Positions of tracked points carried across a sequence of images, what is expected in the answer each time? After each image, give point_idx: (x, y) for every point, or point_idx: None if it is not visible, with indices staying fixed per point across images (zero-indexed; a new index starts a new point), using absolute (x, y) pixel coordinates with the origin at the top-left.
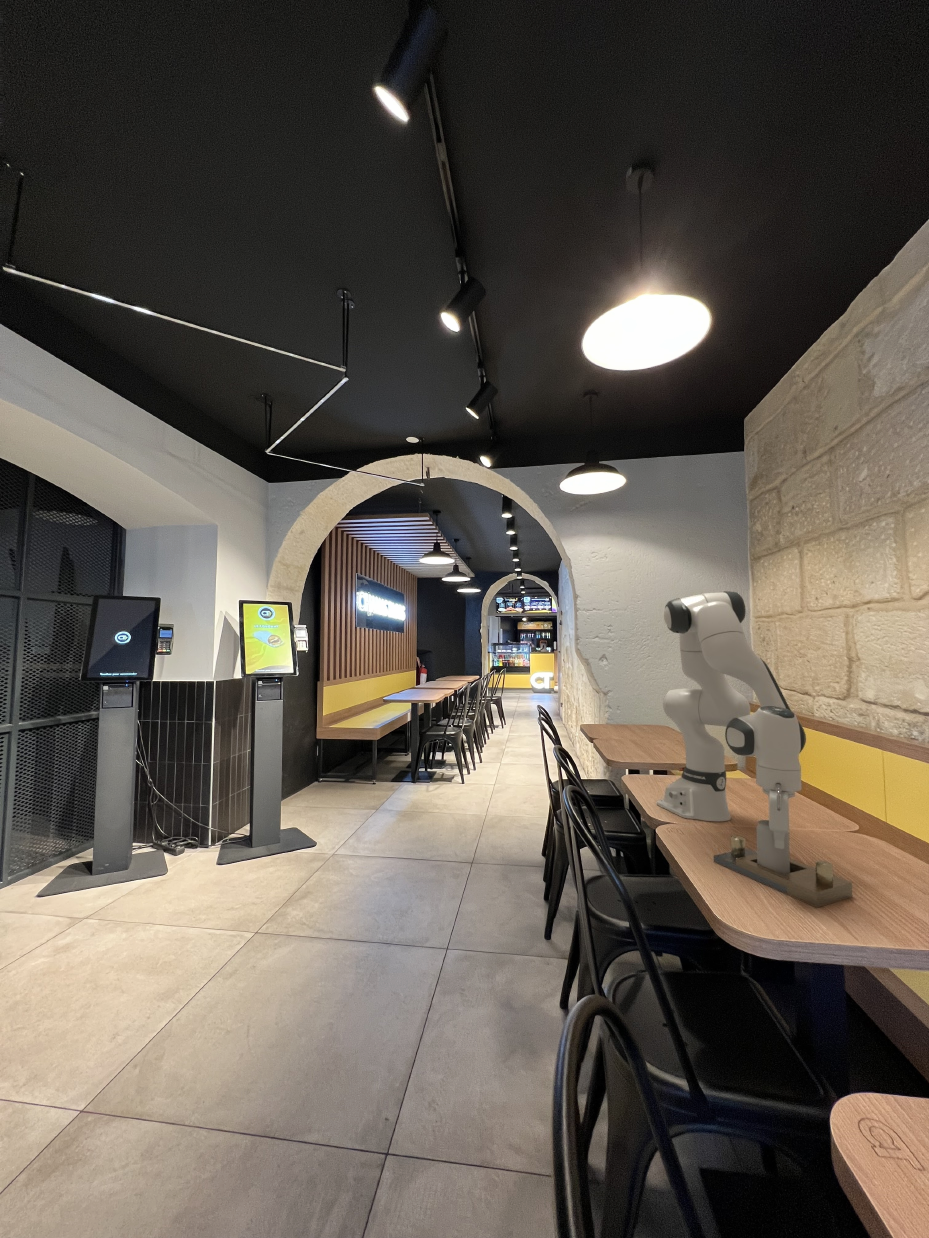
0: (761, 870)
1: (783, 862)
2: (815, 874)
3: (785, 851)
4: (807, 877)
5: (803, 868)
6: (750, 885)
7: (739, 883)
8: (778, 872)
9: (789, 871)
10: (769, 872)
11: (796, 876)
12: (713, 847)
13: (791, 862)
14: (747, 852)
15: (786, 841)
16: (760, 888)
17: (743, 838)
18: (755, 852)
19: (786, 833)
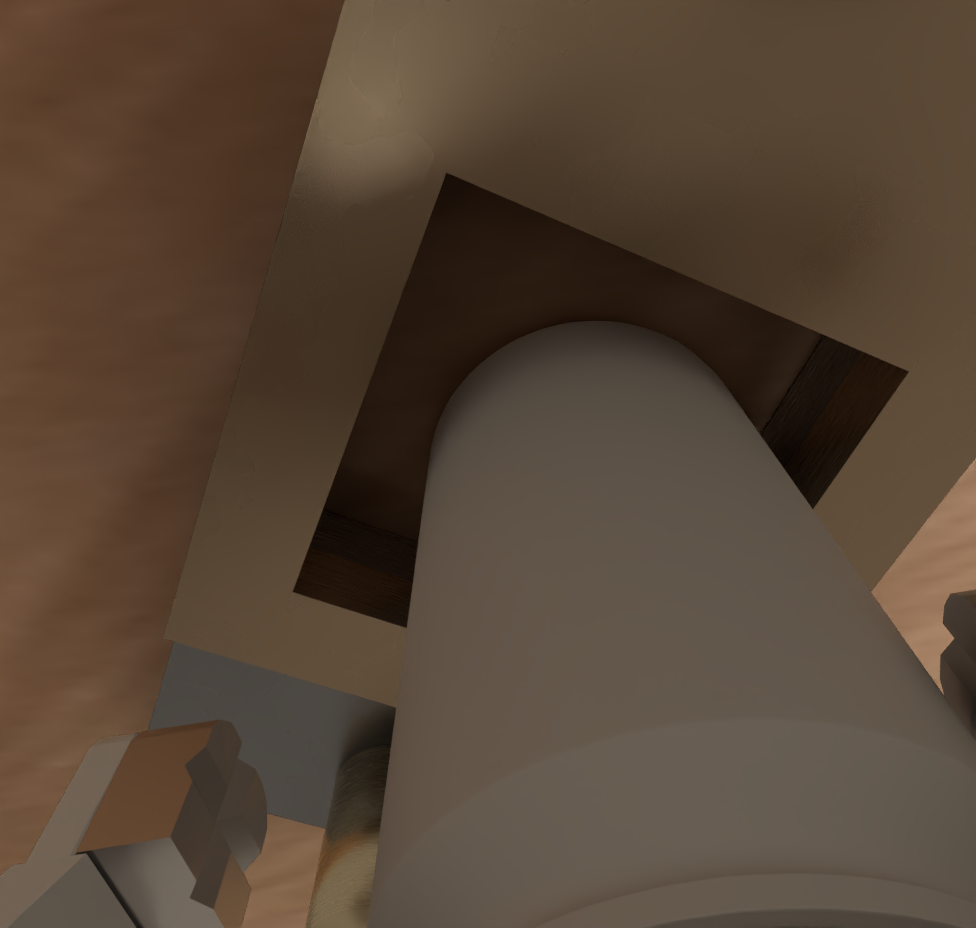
0: (868, 574)
1: (760, 447)
2: (608, 21)
3: (793, 511)
4: (825, 101)
5: (428, 221)
6: (936, 555)
7: (943, 625)
8: (867, 431)
9: (608, 348)
10: (932, 503)
11: (887, 233)
12: (246, 914)
13: (359, 384)
14: (250, 754)
15: (833, 612)
16: (961, 481)
17: (336, 923)
18: (178, 710)
19: (885, 754)
